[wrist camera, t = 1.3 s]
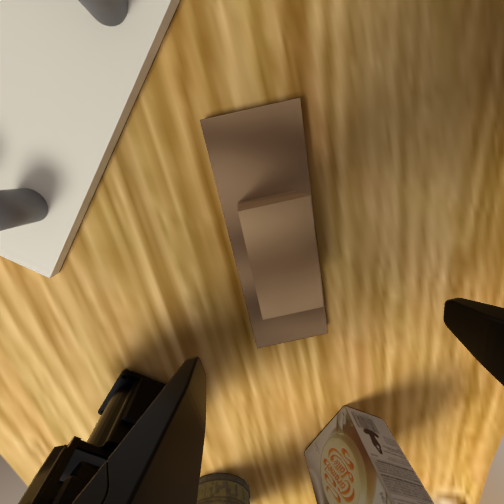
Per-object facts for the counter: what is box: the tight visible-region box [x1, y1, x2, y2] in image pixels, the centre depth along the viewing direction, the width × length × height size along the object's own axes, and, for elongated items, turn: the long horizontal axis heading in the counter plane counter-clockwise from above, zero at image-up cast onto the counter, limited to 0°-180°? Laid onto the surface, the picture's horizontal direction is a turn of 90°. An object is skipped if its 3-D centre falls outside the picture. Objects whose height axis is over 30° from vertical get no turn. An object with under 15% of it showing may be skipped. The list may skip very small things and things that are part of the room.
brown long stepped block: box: [200, 98, 328, 348], centre depth 18 cm, size 20×7×6 cm, turn 12°
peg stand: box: [0, 0, 180, 278], centre depth 13 cm, size 24×10×5 cm, turn 147°
